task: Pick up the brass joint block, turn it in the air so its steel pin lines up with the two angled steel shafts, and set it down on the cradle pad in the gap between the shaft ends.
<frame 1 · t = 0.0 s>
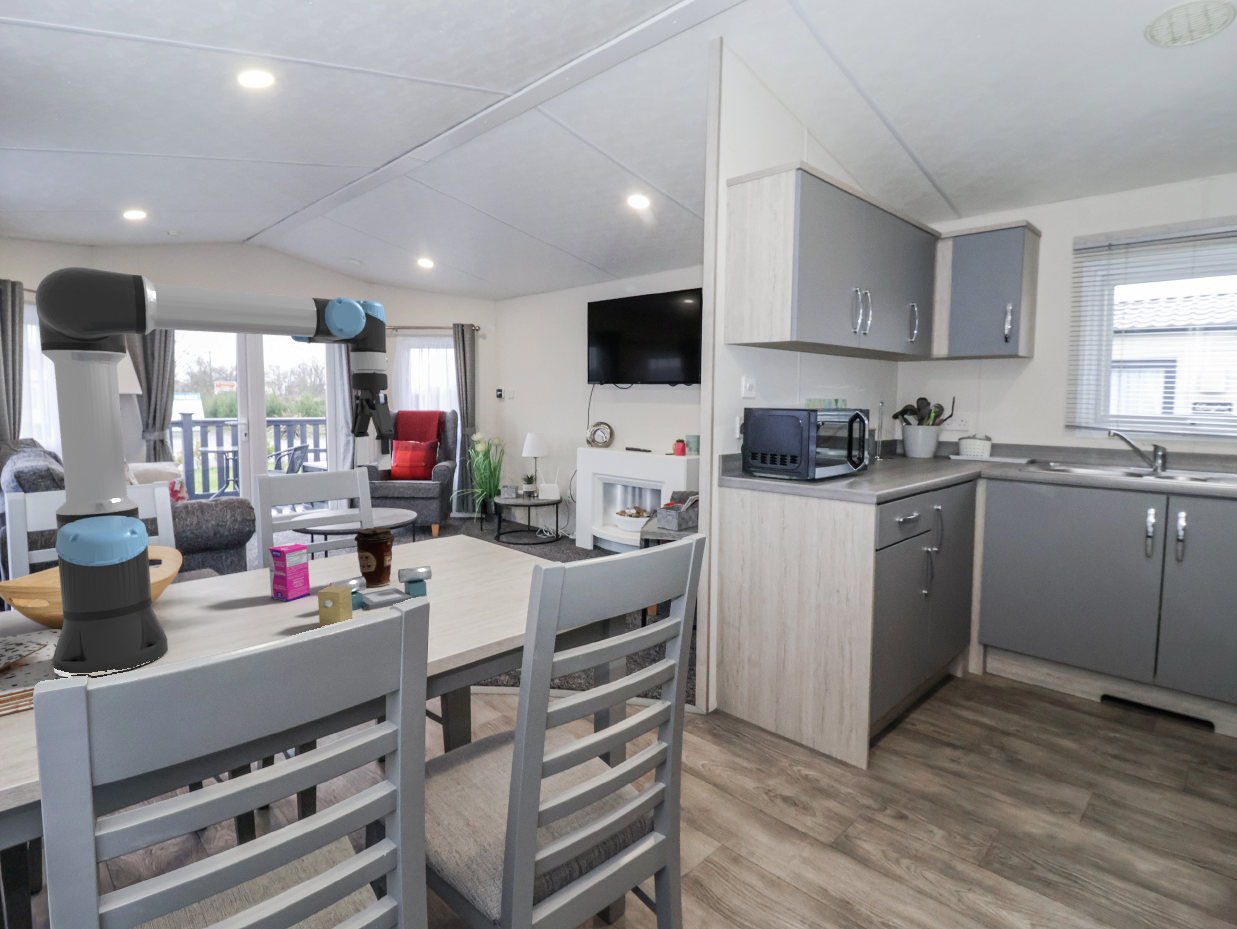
hand: (373, 467, 148), 28 cm above the table, fingers open, 13 cm apart
shaft a: (348, 607, 137), on the table
joint block: (336, 624, 127), on the table
coffee cup: (375, 584, 155), on the table
cradle: (383, 600, 142), on the table
supplement box: (290, 598, 144), on the table
shaft b: (415, 594, 146), on the table
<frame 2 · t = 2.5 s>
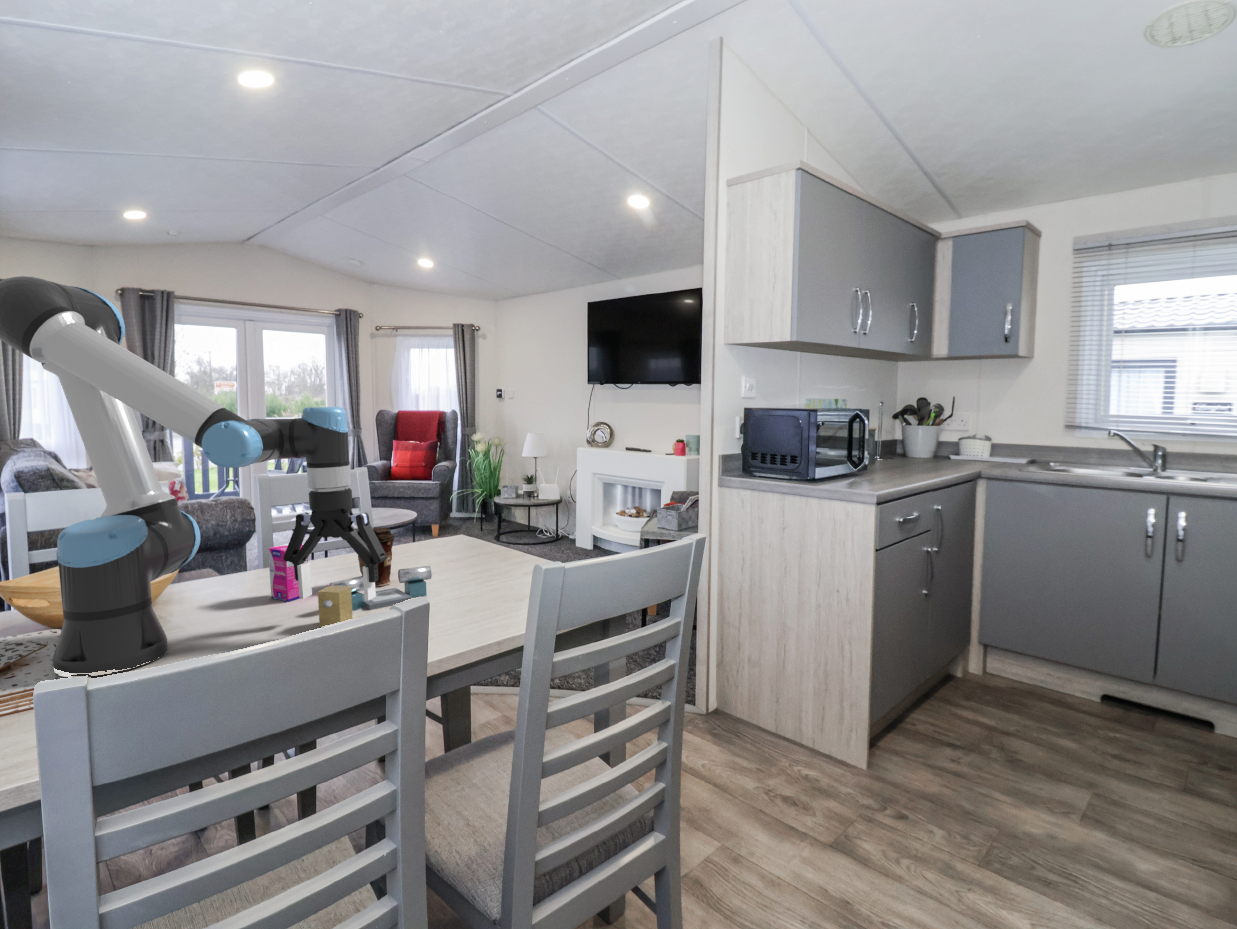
hand: (337, 597, 126), 5 cm above the table, fingers open, 13 cm apart
nothing on the table moved.
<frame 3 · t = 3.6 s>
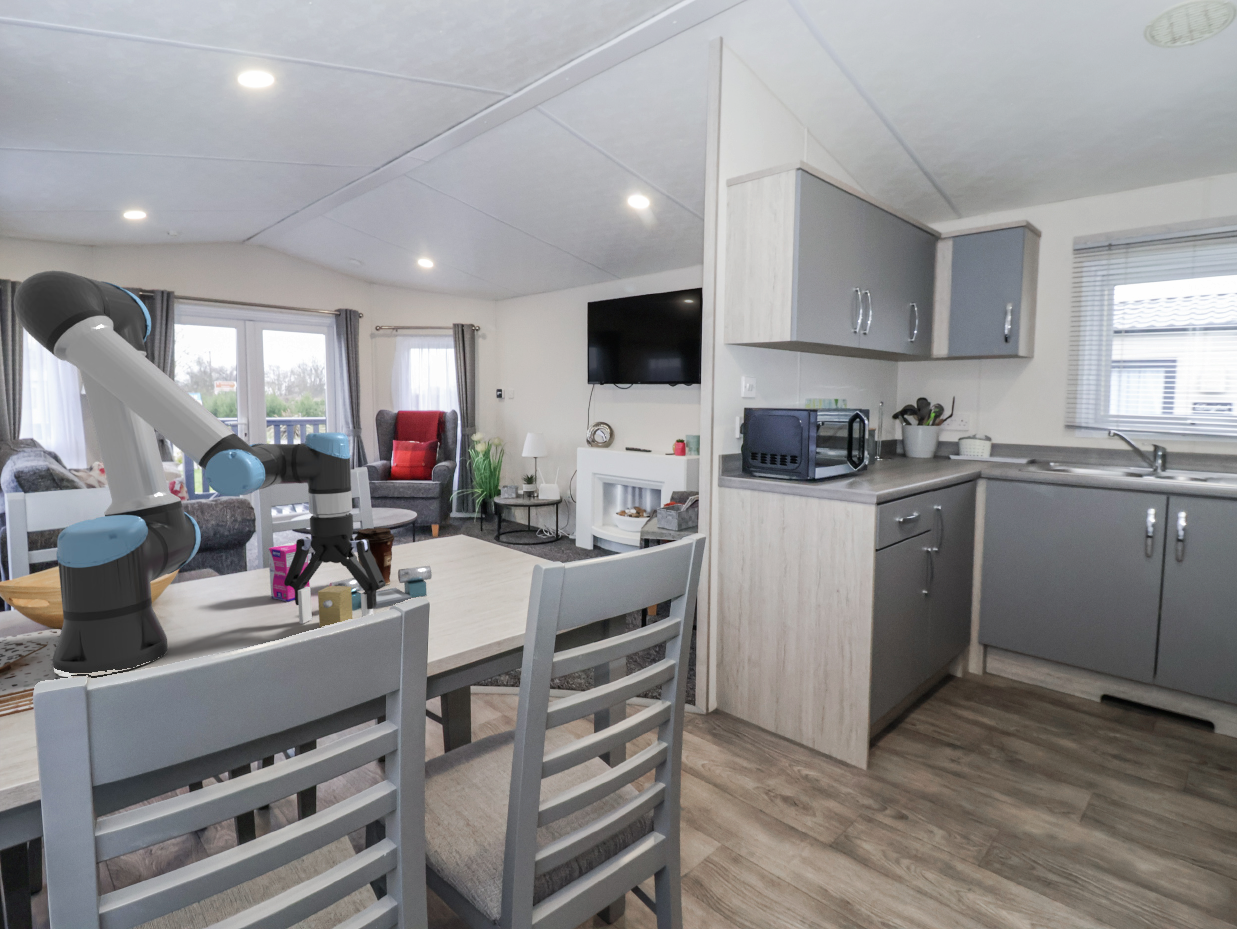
hand: (336, 623, 127), 0 cm above the table, fingers open, 12 cm apart
nothing on the table moved.
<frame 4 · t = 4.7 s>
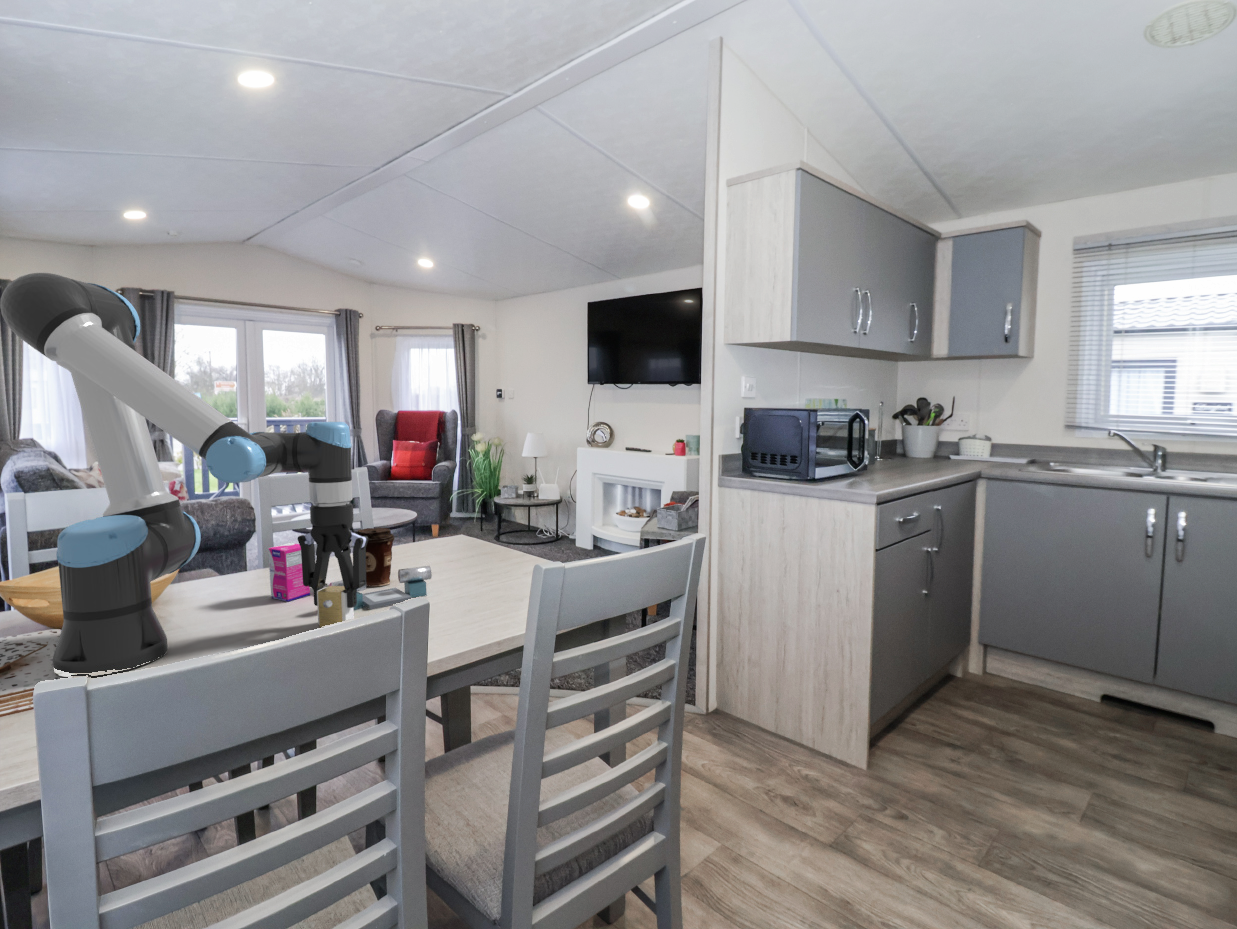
hand: (336, 622, 127), 0 cm above the table, fingers closed on joint block, 4 cm apart
joint block: (336, 624, 127), on the table, touching gripper
everything else where it was.
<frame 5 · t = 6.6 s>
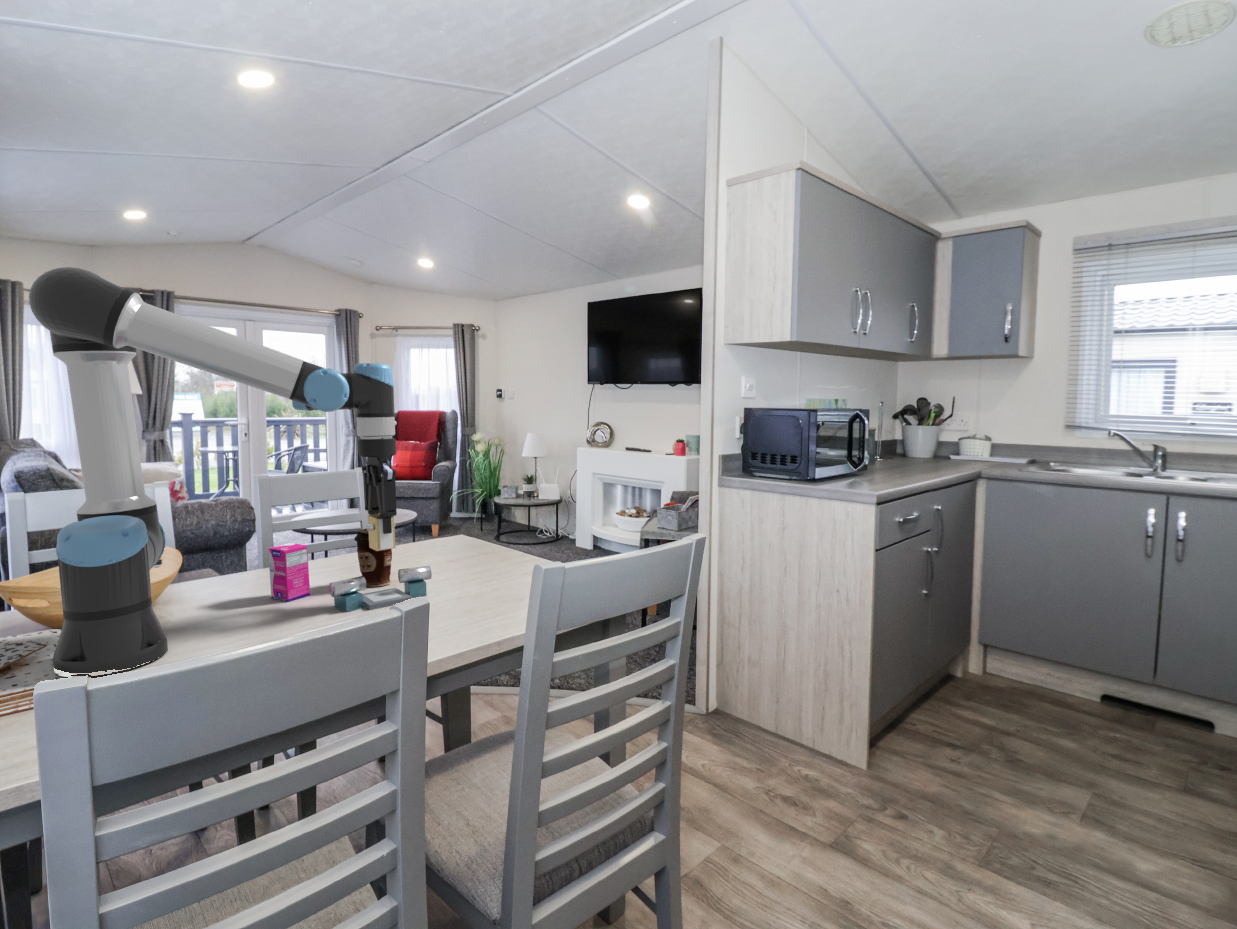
hand: (382, 546, 140), 12 cm above the table, fingers closed on joint block, 4 cm apart
joint block: (382, 547, 141), point 12 cm above the table, touching gripper
everything else where it was.
when the fingers open (2 cm above the table, at t = 8.0 s): joint block stays where it is, resting on cradle.
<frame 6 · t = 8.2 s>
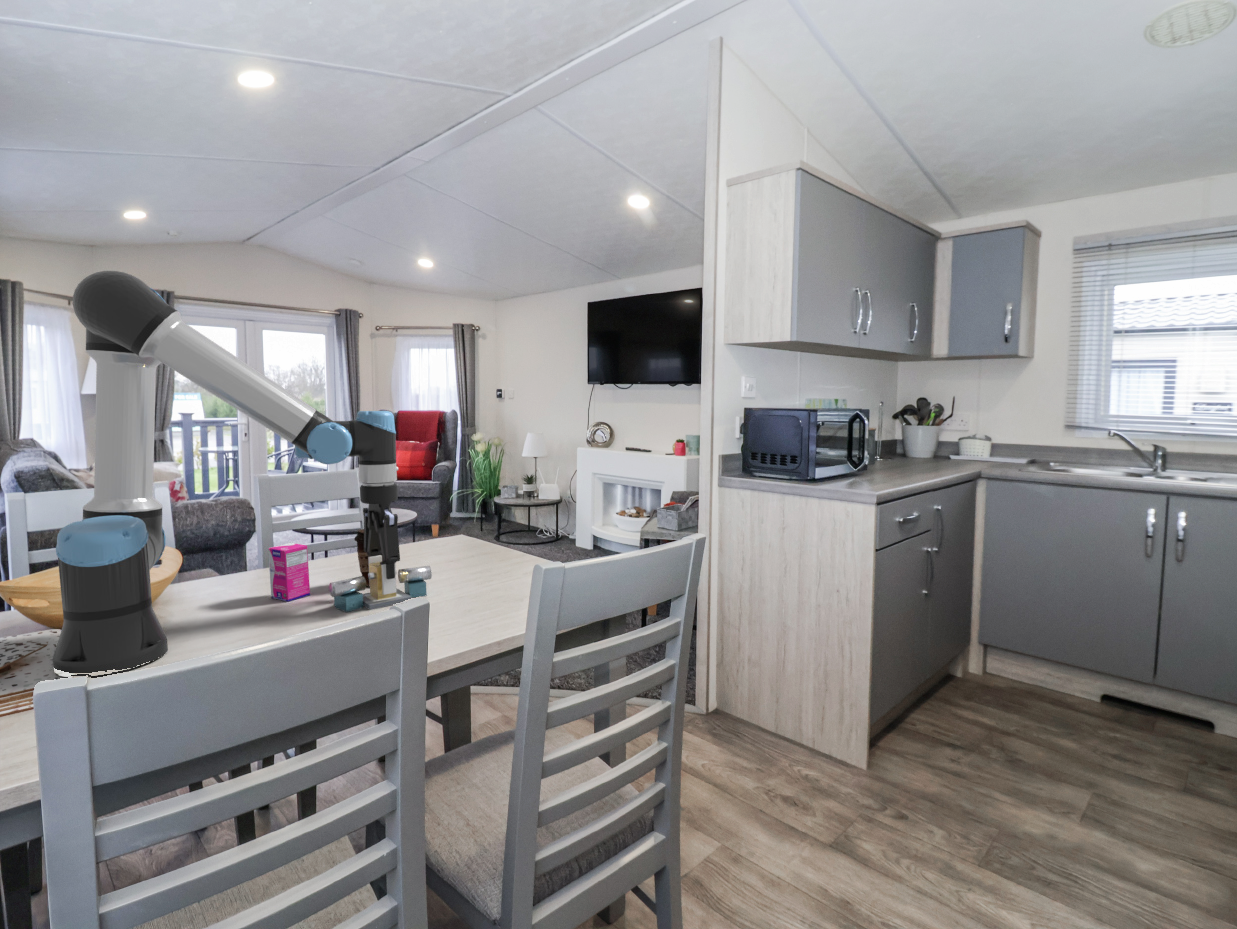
hand: (382, 589, 141), 3 cm above the table, fingers open, 7 cm apart
joint block: (383, 595, 142), point 1 cm above the table, touching cradle
everything else where it was.
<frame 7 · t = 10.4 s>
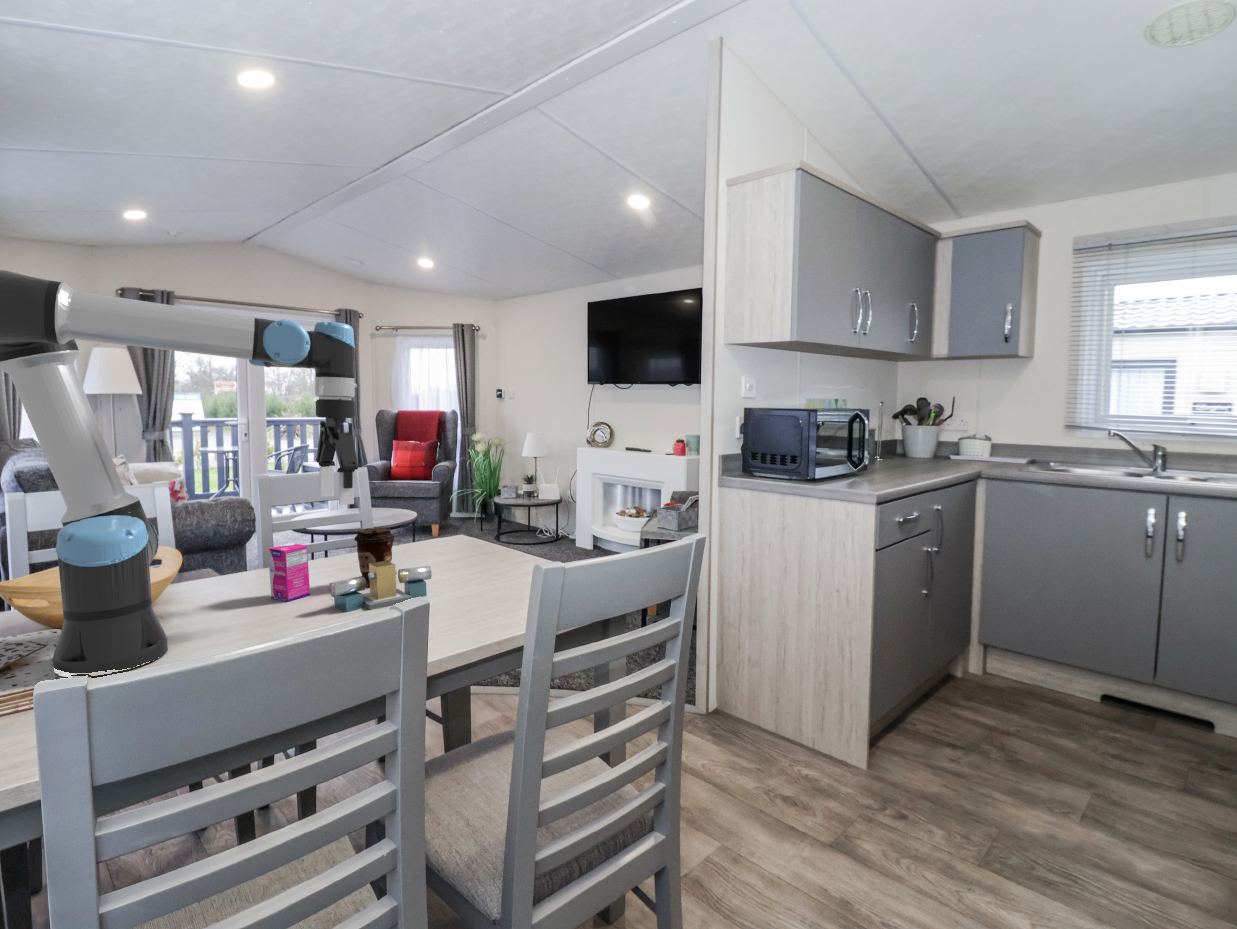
hand: (336, 500, 138), 22 cm above the table, fingers open, 13 cm apart
nothing on the table moved.
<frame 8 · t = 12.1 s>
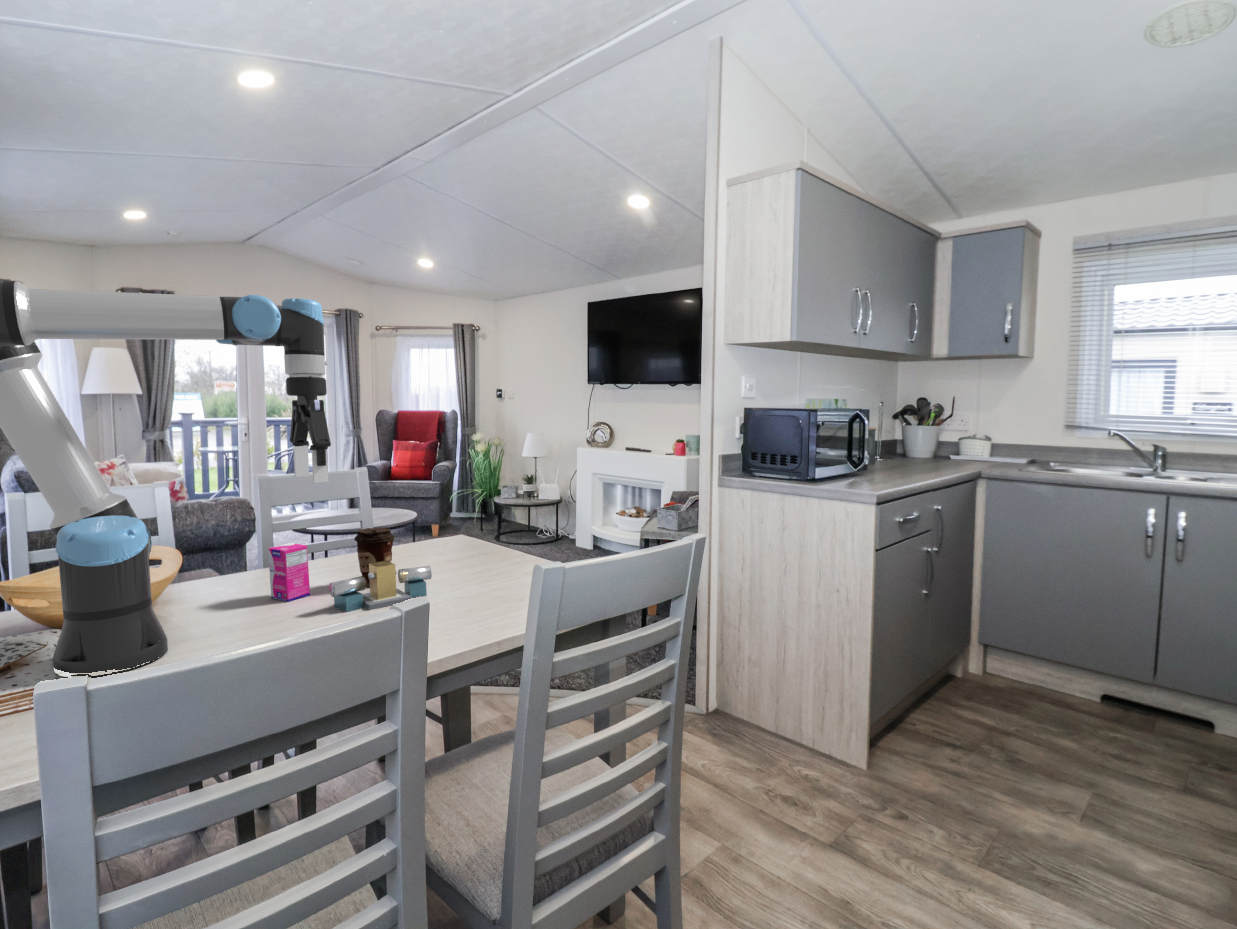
hand: (311, 479, 137), 27 cm above the table, fingers open, 13 cm apart
nothing on the table moved.
at the end: joint block 0.0 cm off-centre on the cradle, point 1.0 cm above the cradle's base; joint block tilted 0°; the gripper is holding nothing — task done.
